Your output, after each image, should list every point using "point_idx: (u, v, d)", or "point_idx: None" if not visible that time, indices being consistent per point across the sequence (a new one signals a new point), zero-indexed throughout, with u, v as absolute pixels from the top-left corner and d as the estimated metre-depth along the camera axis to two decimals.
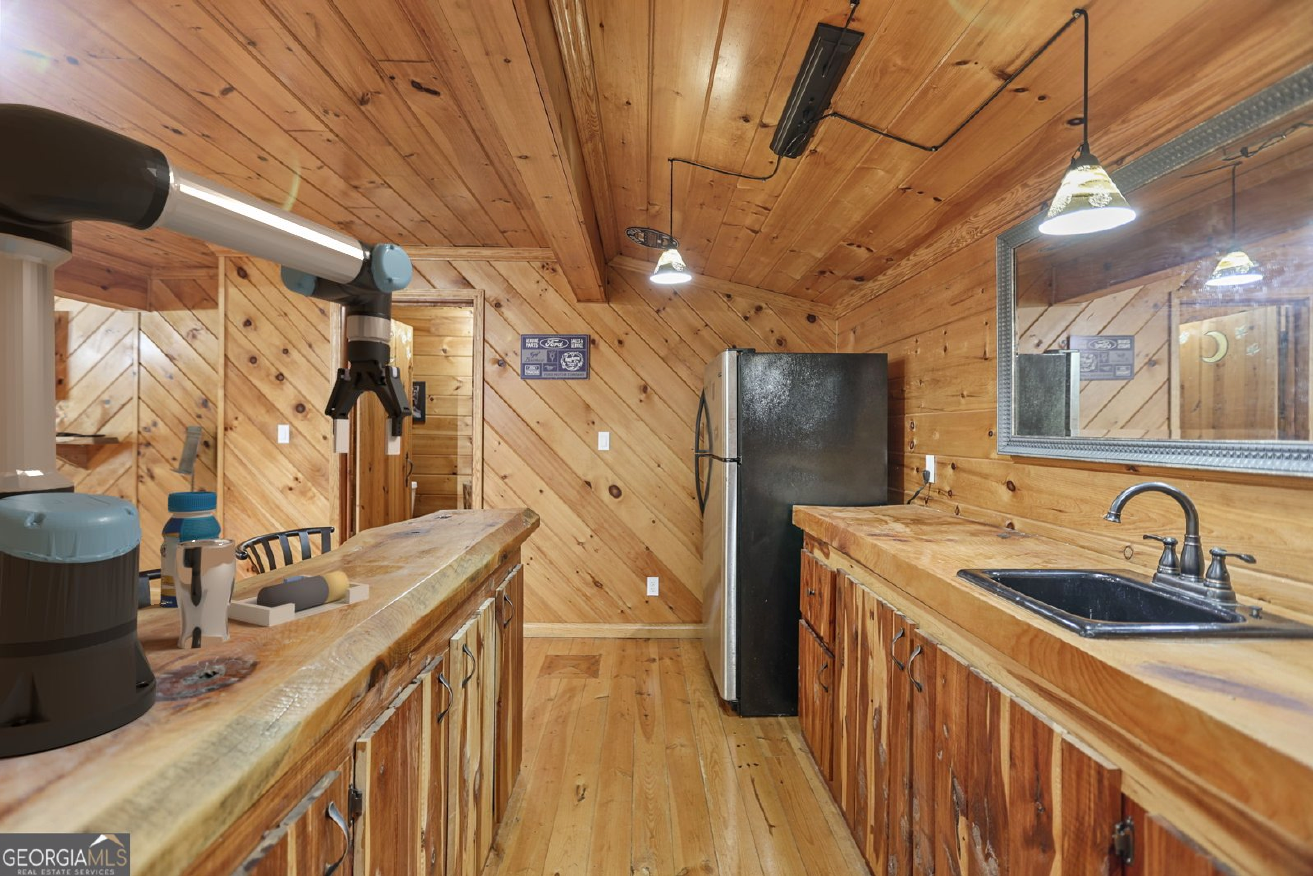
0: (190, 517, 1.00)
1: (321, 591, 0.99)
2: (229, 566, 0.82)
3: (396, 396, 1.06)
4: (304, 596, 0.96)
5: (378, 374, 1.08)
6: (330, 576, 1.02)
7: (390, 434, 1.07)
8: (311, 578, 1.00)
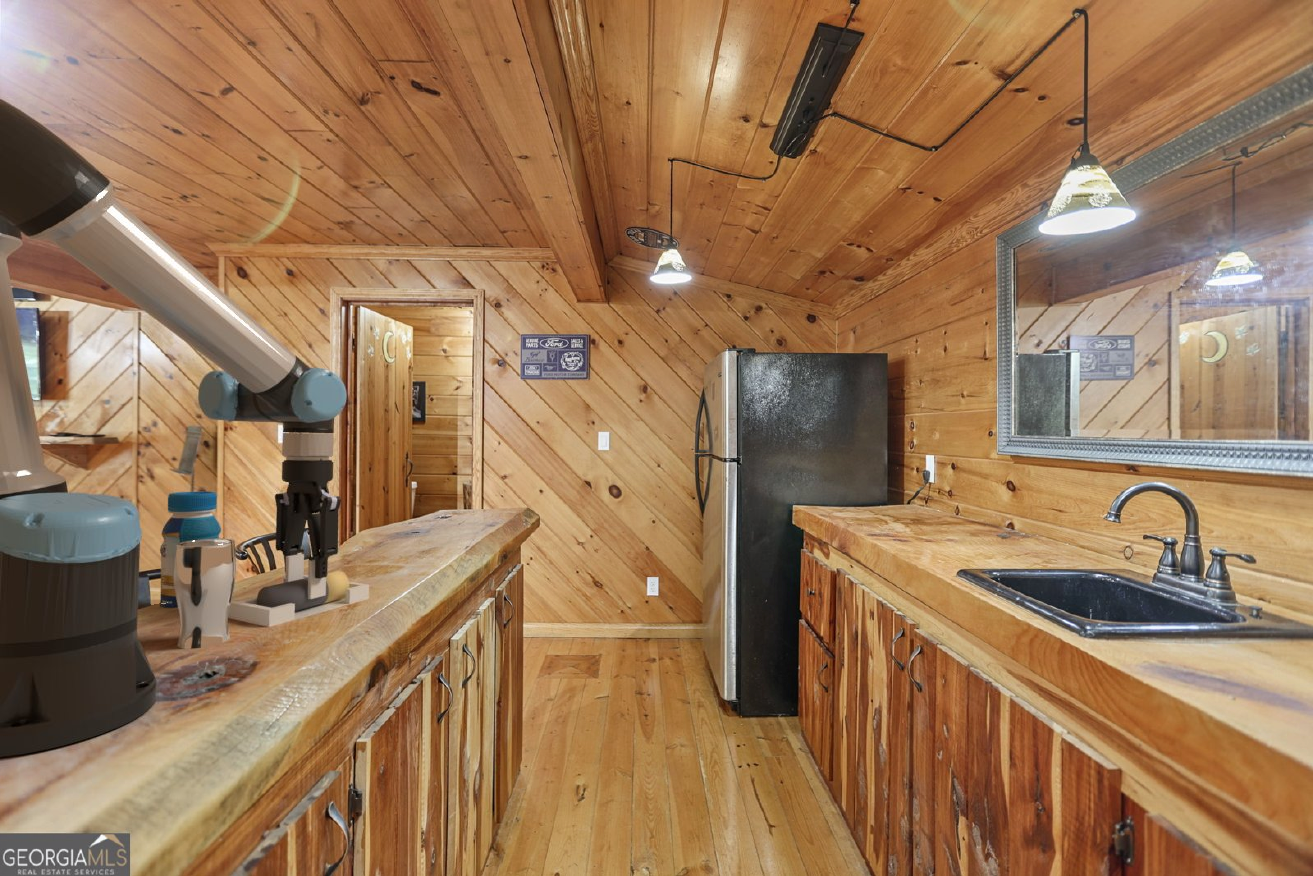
0: (190, 517, 1.00)
1: None
2: (229, 566, 0.82)
3: (325, 535, 0.96)
4: (304, 596, 0.96)
5: (316, 498, 0.97)
6: (330, 576, 1.02)
7: (313, 576, 0.97)
8: None
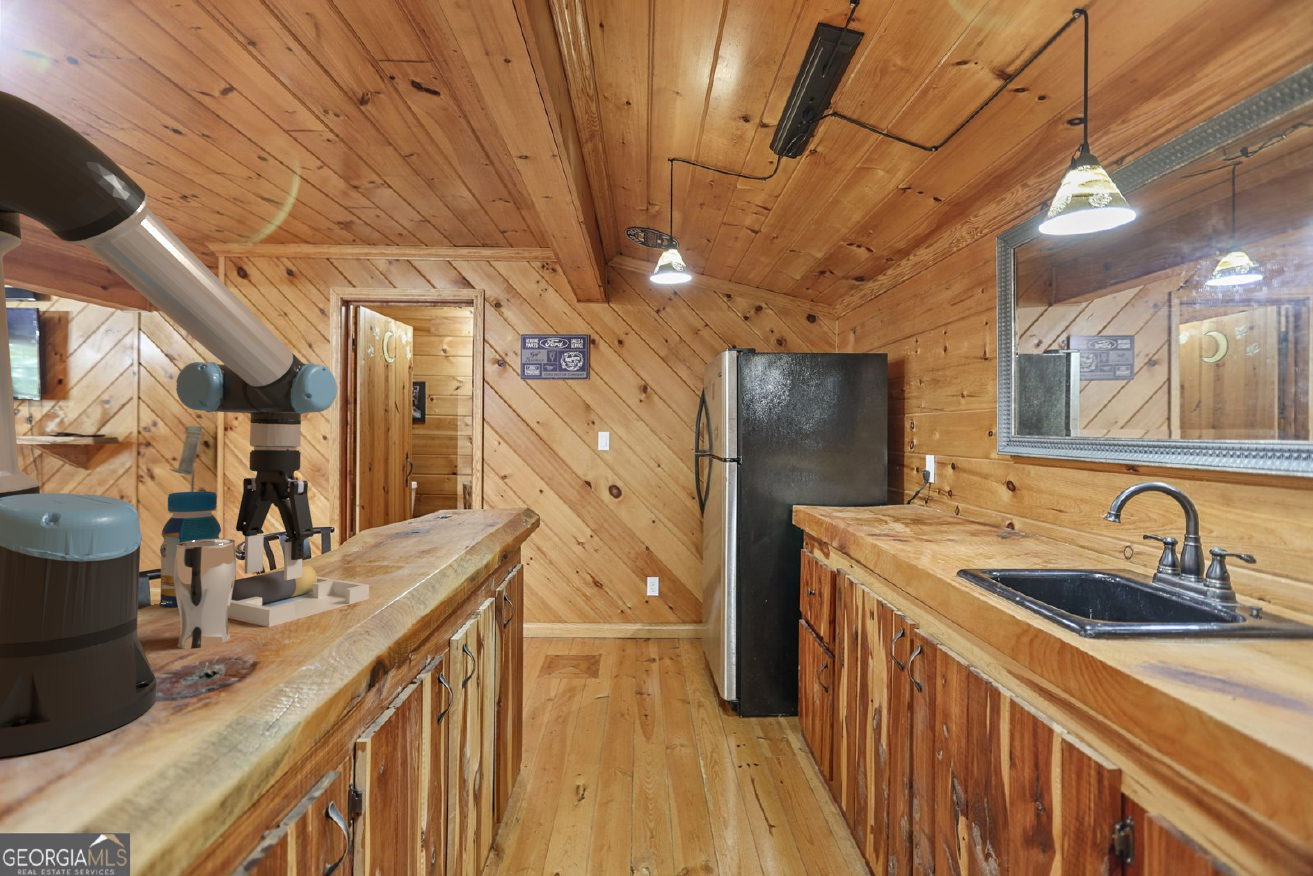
0: (190, 517, 1.00)
1: (288, 585, 1.03)
2: (229, 566, 0.82)
3: (297, 517, 0.98)
4: (271, 589, 1.00)
5: (283, 486, 1.00)
6: None
7: (289, 558, 0.99)
8: (279, 572, 1.03)
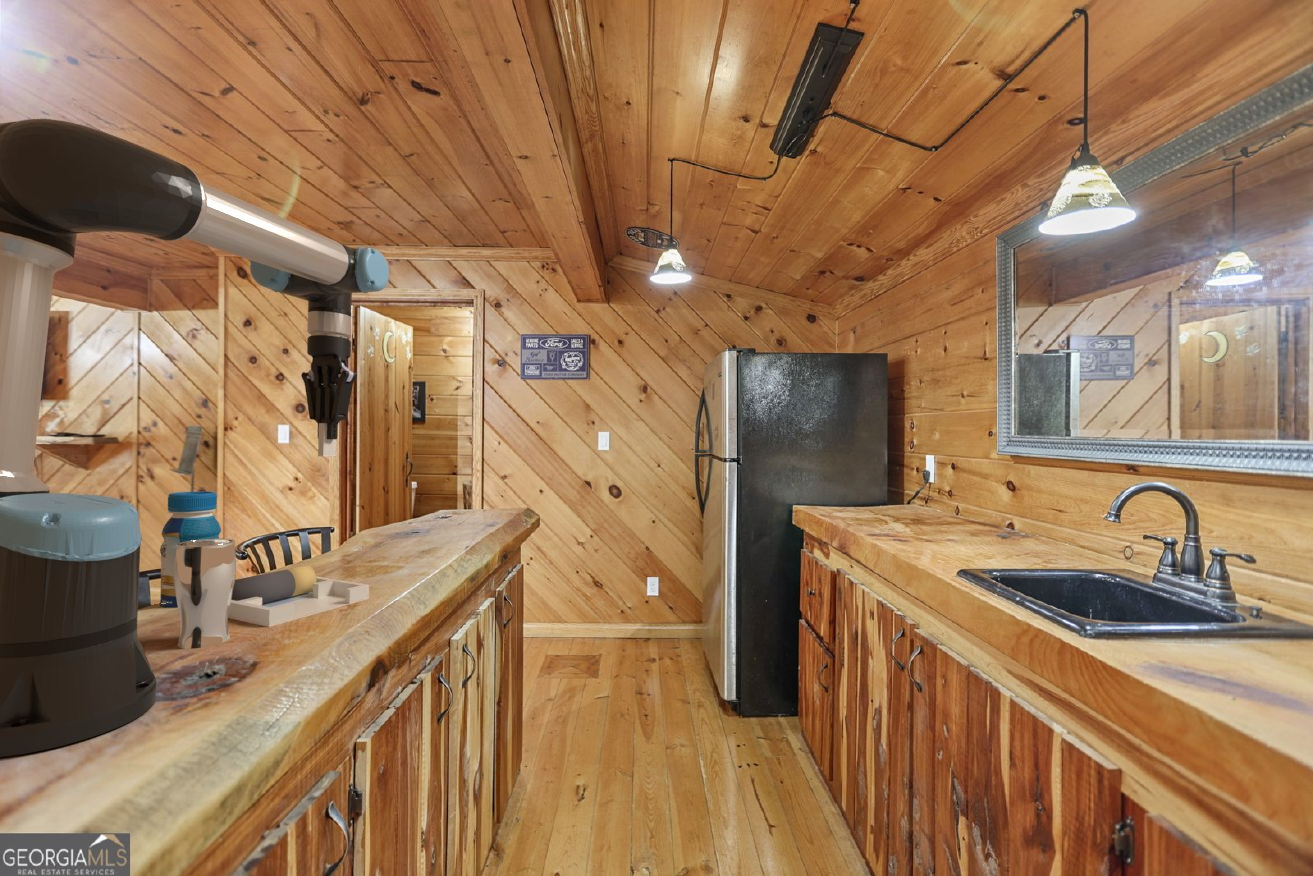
0: (190, 517, 1.00)
1: (287, 584, 1.03)
2: (229, 566, 0.82)
3: (338, 402, 1.12)
4: (270, 588, 1.00)
5: (336, 369, 1.13)
6: (297, 570, 1.06)
7: (325, 437, 1.14)
8: (278, 572, 1.03)
